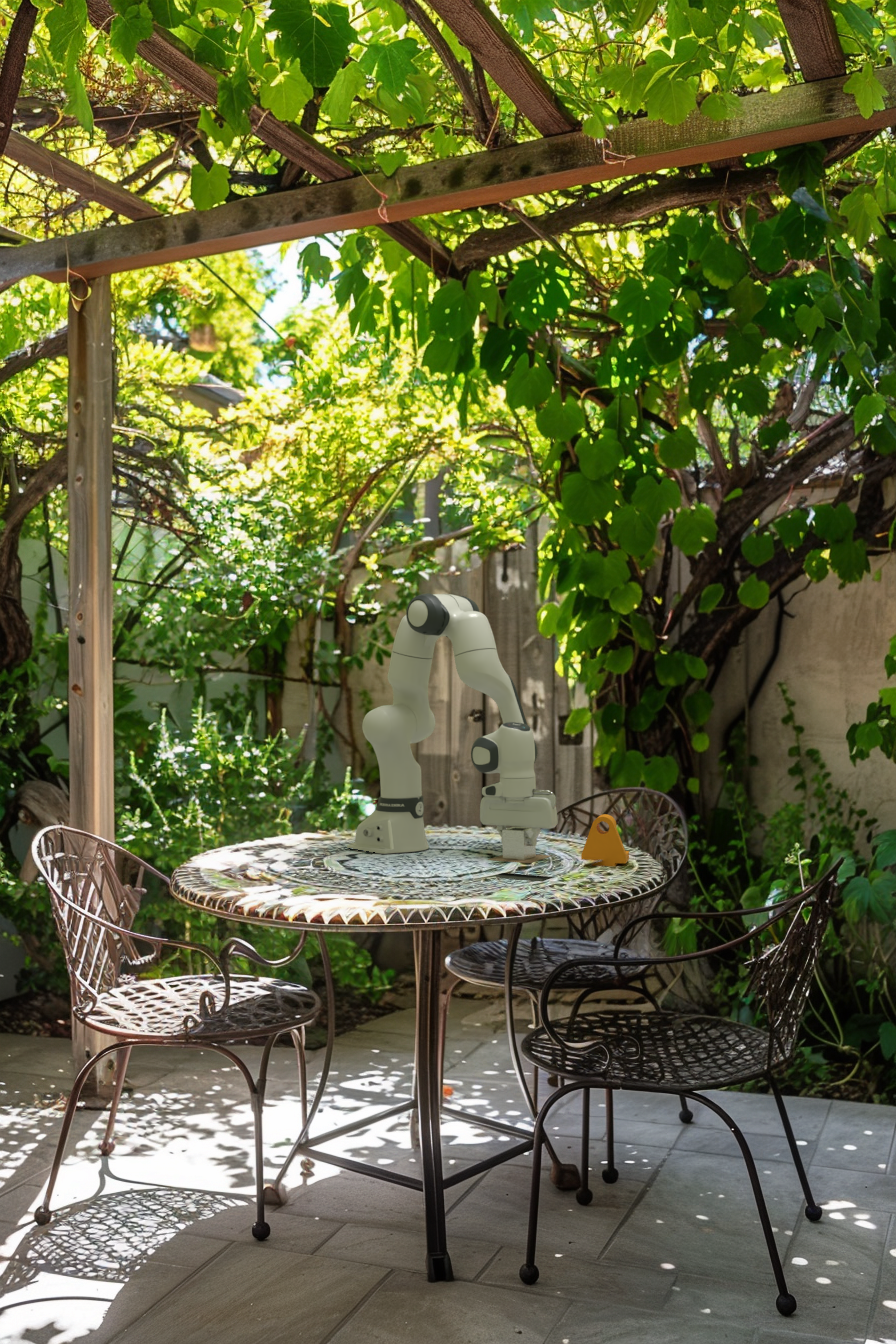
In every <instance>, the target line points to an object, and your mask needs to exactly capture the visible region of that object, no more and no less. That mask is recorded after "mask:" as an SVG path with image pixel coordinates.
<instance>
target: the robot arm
mask: <svg viewBox="0 0 896 1344" xmlns="http://www.w3.org/2000/svg"><path fill="white" fill-rule="evenodd" d="M441 637H446V638H448V639H449V640H450V642H451V646H452V650H453V652H452V653H453V658H454V663H455V669H456V673H457V675H458V677H459V679H460V680H461V682H462V683H463V684H465V685H466V686H468V687H469V688H471V689H472V690H475V691H477V692H480V693H482V694H485V695H486V696H488V697H490V698H491V699H492V700H493V701H494V702H495V704H496V705H497V708H498V710H499V713H500V717H501V720H502V724H501V725H500V726H499V728H498V729H496V730H495V731H493V732H491V733H489V734H486V735H482V736H481V737H478V738H476V739H475V740H474V741H473V744H472V746H471V749H470V759H471V762H472V765H473V767H474V768H475V769H476V770H477V771H478V772H479V773H482V774H499V781H498V782H494V783H492V784H490V785H486V786H484V787H482V788H481V795H482V796H483V797H482V798H481V800H480V803H479V804H480V805H479V821H480V822H481V824H482V825H484V826H485V825H486V826H496V831H497V832H498V835H499V836H500V839H501V842H502V830H504V829H507V827H526V828H532V832H534V833H533V835H532V837H531V838H529V839H528V842H529V843H528V845H529V846H536V847H537V843H538V842H537V839H538V837H539V835H540V833H541V831H542V830H541V829H547V830H548V829H555V828H556V826H557V824H558V823H559V822H558V820H559V819H558V811H557V797H556V795H555V793H554V792H553V791H551V790H550V789H536V788H537V786H536V785H537V783H536V781H537V780H536V779H537V778H536V771H535V767H534V766H535V763H536V761H537V759H538V751H539V750H538V746H537V743H536V741H535V738H534V734H533V729H532V728H531V727H530V725H528V723H527V720H526V717H525V713H524V710H523V707H522V703H521V701H520V697H519V694H518V691H517V688H516V685H515V683H514V680H513V679H512V677H511V676H510V674H509V673H507V672H506V671H505V669H504V667H503V665H502V663H501V660H500V658H499V654H498V649H497V644H496V640H495V636H494V633H493V630H492V627H491V624H490V622H489V619H488V617H487V616H486V615H485V614H484V613H482V612H481V611H480V608H479V606H478V604H477V603H476V602H475V601H474V600H472V599H471V598H469V597H467V596H464V595H456V594H452V593H433V594H432V593H422V594H418V595H416V596H414V597H413V598H412V599H410V601H409V603H408V605H407V608H406V613H405V615H404V616H403V617H402V618H401V620H400V623H399V625H398V627H397V630H396V633H395V636H394V640H393V644H392V649H391V655H390V661H389V666H388V673H387V677H386V678H387V681H388V683H389V685H390V686H391V689H392V695H393V696H392V697H393V698H392V699H393V700H392V704H386V705H380V706H378V707H376V708H373V709H372V710H370V711H368V712H367V713H366V714H365V716H364V718H363V720H362V724H361V725H362V726H361V727H362V732H363V735H364V737H365V739H366V740H367V741H368V742H369V743H370V745H371V746H372V748H373V752H374V754H375V756H376V759H377V763H378V769H379V780H380V781H379V785H380V796H379V797H378V798H376V799H373V800H372V802H373V803H372V805H376V806H375V810H374V811H373V812H372V813H371V814H370V815H369V816H367V817H366V818H365V819H364V820H363V821H361V823H359V824H358V826H357V827H356V831H355V839H354V842H351V843H349V844H347V845H346V846H347V847H346V849H347V848H353V849H358V850H364V851H363V852H366V851H369V852H368V853H373V852H375V853H376V854H385V855H387V854H397V853H411V852H412V853H413V852H420V851H421V852H422V851H425V850H428V849H429V848H430V846H429V843H428V840H427V834H426V829H425V824H424V823H425V822H424V814H425V813H424V811H425V809H424V808H425V805H424V804H425V803H424V796H423V795H422V793H423V791H422V790H423V788H422V767H421V765H420V764H419V762H418V761H416V758H415V756H414V755H413V751H412V747H411V744H417V743H420V742H422V741H424V740H425V739H427V738H429V737H430V736H432V734H433V732H434V731H435V727H436V718H435V715H434V712H433V711H432V709H431V707H430V700H429V683H430V678H431V677H430V676H431V669H432V664H433V659H434V658H433V657H434V651H435V646H436V643H437V642H438V639H440V638H441ZM358 850H357V851H358ZM375 853H374V854H375Z"/></svg>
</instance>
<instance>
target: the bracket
mask: <svg viewBox="0 0 896 1344" xmlns="http://www.w3.org/2000/svg"><path fill="white" fill-rule="evenodd" d="M601 822H603V823H606V824H607V825H608V830H607V831H605V830H602V828H601V826H600V823H601ZM617 827H618V826H617V821H616V819H615V818H614V817H613V816H612V815H610V814H605V813H603V814H600V815H599V816H598V817H597V818H595V819H594V820H593V822H592V824H591V827H590V829H589V831H588V835H587V837H586V841H585V843H584V846H583V849H582V852H581V856H580V857H581V859H580V860H593V861H597V862H594V863H592V864H591V865H592V867H616V866H617V865H618V864H627V862H628V861H629V860H630V851H629V850H626V849H625V846H624V844H623V841H622V839H621V836H620V834H619V831H618V828H617Z"/></svg>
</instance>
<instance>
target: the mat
mask: <svg viewBox="0 0 896 1344" xmlns="http://www.w3.org/2000/svg"><path fill="white" fill-rule="evenodd" d="M495 875H496V876H495V877H496V879H497V878H498V879H508V880H509V879H510V880H520V881H531V882H532V881H533V882H544V881H547V880H550V879H553V878H554V876H547V875H546V876H545V875H535V874H524V873H523V874H522V873H509V872H502V873H499V874H495Z"/></svg>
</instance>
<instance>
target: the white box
mask: <svg viewBox="0 0 896 1344" xmlns="http://www.w3.org/2000/svg"><path fill="white" fill-rule="evenodd" d="M533 833H534V832H532V828H530V827H514V826H510V827H508V828H507V827H506V829H504V830H502V841H501V844H502V855H503V858H505V859H518V860H526V859H529V858H532V857H535V856H536V855H537V854H536V853H537V851H536V849H537V848H536V847H537V845H536V846H529V845H528V843H529V842H528V839H529V838H531V837H532V835H533Z"/></svg>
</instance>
